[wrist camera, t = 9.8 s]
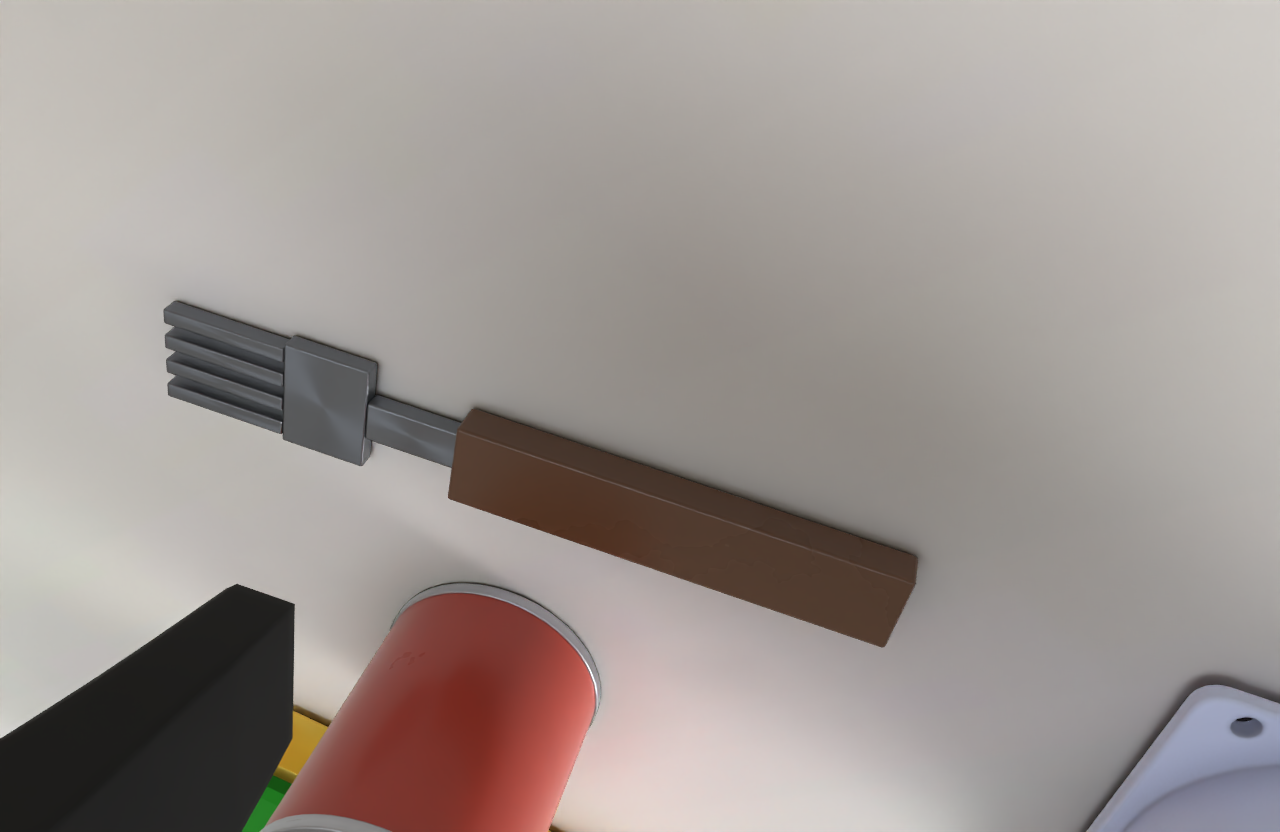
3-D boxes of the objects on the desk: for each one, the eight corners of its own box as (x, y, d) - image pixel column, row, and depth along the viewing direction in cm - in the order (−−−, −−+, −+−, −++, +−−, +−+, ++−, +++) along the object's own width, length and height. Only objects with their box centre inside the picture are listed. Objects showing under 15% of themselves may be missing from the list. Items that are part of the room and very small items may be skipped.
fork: (924, 544, 21) (922, 572, 20) (882, 631, 22) (879, 660, 21) (173, 294, 22) (149, 312, 22) (178, 390, 24) (156, 411, 23)
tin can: (620, 629, 24) (515, 894, 19) (580, 773, 27) (479, 1037, 22) (401, 553, 24) (239, 790, 19) (385, 702, 27) (240, 943, 22)
